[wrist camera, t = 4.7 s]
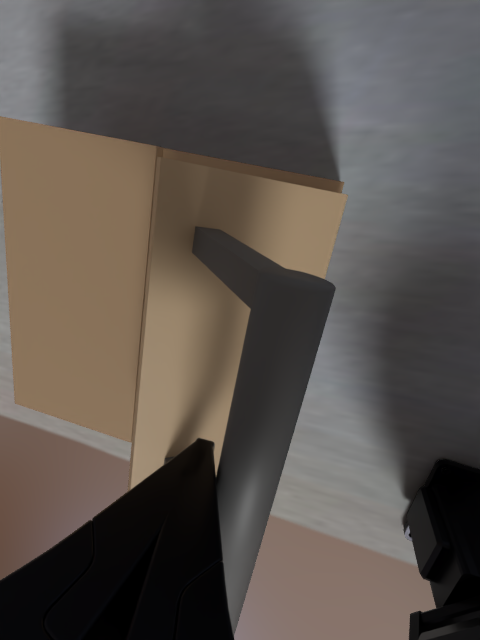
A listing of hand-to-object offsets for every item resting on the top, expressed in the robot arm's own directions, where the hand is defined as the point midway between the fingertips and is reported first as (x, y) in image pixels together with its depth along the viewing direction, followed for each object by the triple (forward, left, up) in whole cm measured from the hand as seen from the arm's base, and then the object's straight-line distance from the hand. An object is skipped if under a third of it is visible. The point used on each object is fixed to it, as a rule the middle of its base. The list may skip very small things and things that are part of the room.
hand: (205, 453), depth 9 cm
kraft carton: (+5, 0, -13) cm, 14 cm away
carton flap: (+1, 0, -5) cm, 5 cm away
